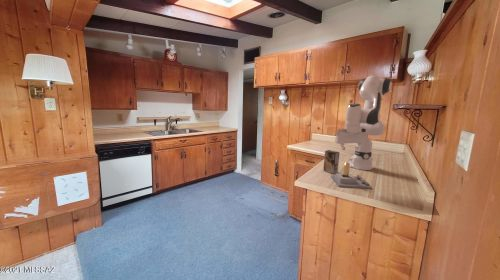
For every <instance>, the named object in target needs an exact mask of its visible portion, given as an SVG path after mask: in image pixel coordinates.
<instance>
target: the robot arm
mask: <svg viewBox="0 0 500 280" xmlns="http://www.w3.org/2000/svg"><path fill="white" fill-rule="evenodd" d="M392 86H393V83H392V79H390V78H386V77H385V78H384V77H383V78H382V77H379V76H377V75H369V76H367V77H366V78H362V79H361V80H359V82H358V91H359V96H360V97H361V98H362V99H363V100H364V105H363V108H362V105H361V104H360V103H349V104H348V106H347V108H346V112H345V124H344V129H343V128H342V129H341V128H340V129H338V130H337V131H336V133H335V139H334V141H335V143H336V144H338V145H339V144H340V146H341V150H342V151H346V147H345V144H356V146H355V147H354V149H355V151H354V154H353V155H352V156H351V157H349V161H347V162H346V163H350V167H349V168H353V169H355V170H356V169H357V170H361V171H371V170H372V169H374V168H375V167H374V166H373V157H372V155H373V154H372V153H373V152H372V151H373V150H372V148H373V142H372V140H370V139H369V138H368V136H381V135H383V133H384V132H385V129H386V127H385V124H384V123H383V122H382V121H381V120H380V119H381V105H382V96H384V95H385V94H387V93H389V92H390V90H391V89H392Z"/></svg>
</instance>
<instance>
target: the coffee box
mask: <svg viewBox="0 0 500 280" xmlns="http://www.w3.org/2000/svg"><path fill="white" fill-rule="evenodd" d="M323 160H324V161H323V172H325V173H330V174H332V175H333V174H334V175H336V173H338V172H339V162H340V152H339V151H335V150H331V149H328V150H325V151H324V159H323Z"/></svg>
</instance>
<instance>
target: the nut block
mask: <svg viewBox="0 0 500 280" xmlns="http://www.w3.org/2000/svg"><path fill="white" fill-rule="evenodd" d="M330 178H331V179H332V181H333V182H334V183H335V184H336V186H337V187H338V188H350V189H351V188H352V189H370V190H372V189H373V187H372V186H371V185H370V183H368V181H366V180H365V179H364V178H363V177H362V176H360V174H356V176H354V175H352V173H349V176H348V177H343V173H338V172H337V173H335V174H334V175H333V174H331V175H330Z"/></svg>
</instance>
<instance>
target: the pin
mask: <svg viewBox="0 0 500 280" xmlns="http://www.w3.org/2000/svg"><path fill="white" fill-rule="evenodd" d="M350 168H351V167H350V163H347V162H344V163H343V173H342V174H343V177H348V176H349V174H350V173H349V172H350Z"/></svg>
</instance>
